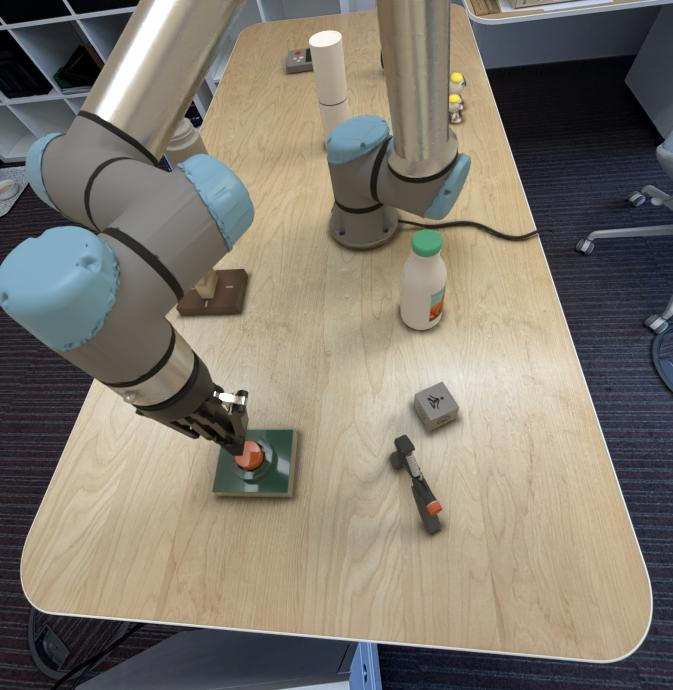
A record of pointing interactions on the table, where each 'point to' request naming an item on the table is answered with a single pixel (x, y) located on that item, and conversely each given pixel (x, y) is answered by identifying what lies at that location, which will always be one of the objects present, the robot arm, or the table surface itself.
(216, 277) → the knob
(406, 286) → the milk bottle
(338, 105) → the cylindrical container
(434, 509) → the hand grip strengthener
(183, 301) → the panel
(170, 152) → the thermos bottle
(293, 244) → the table surface
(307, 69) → the electronic device
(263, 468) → the button housing
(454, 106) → the toy figures
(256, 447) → the orange button cap
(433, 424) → the dice cube
